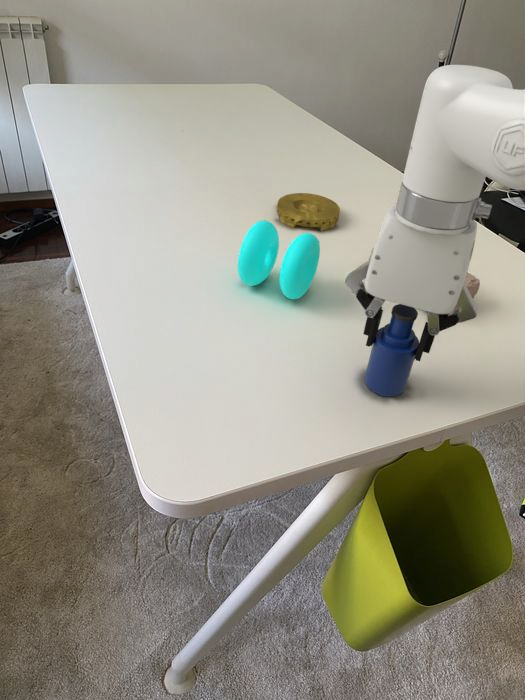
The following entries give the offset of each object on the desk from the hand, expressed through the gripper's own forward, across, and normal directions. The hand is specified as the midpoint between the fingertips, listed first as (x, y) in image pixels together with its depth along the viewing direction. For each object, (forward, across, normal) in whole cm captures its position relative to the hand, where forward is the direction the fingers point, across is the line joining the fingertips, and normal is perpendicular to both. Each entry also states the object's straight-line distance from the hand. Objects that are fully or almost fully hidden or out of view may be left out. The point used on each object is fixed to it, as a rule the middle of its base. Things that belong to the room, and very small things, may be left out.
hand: (395, 345), depth 66 cm
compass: (+6, +24, -41) cm, 48 cm away
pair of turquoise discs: (+6, +20, -14) cm, 26 cm away
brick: (+6, 0, -26) cm, 27 cm away
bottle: (+6, 0, 0) cm, 6 cm away
